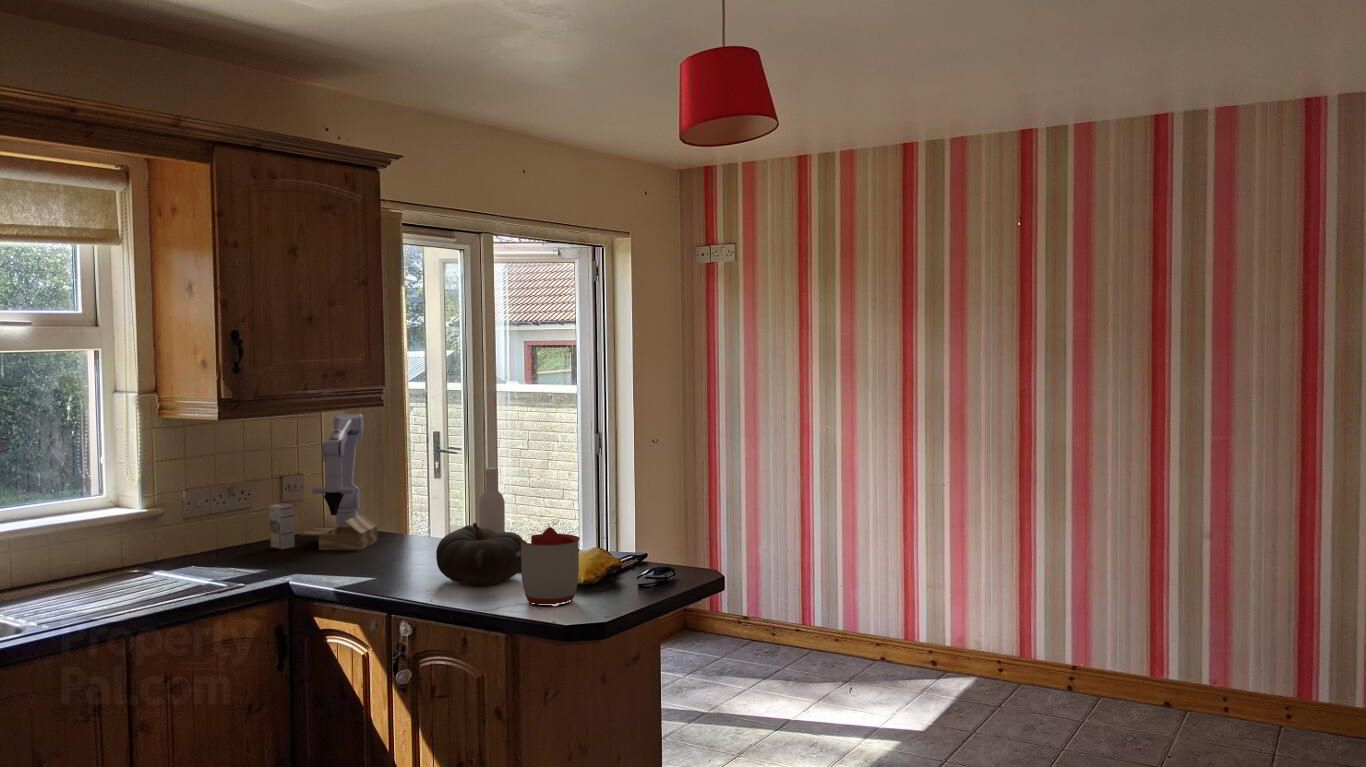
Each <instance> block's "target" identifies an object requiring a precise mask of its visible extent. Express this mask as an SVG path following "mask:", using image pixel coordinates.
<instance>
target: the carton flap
mask: <svg viewBox="0 0 1366 767" xmlns="http://www.w3.org/2000/svg"><path fill="white" fill-rule="evenodd" d="M344 523H345V524H346V525H348V526H349V527H350V528H352V529H353V530H355V531H356V532H357V533H359V534H360V535H361V534H363V533H365V532H367V531H369V530H372V529H374V528H376V527H377V528H378V525H376V524H375V523H373V522H372V521H371V520H369V518H367V517H366V516H364V515H363V514H359V515H358V516H356V517H354V518H351V519H349V520H346V521H344Z"/></svg>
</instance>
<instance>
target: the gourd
mask: <svg viewBox="0 0 1366 767" xmlns="http://www.w3.org/2000/svg"><path fill="white" fill-rule="evenodd" d="M520 539H522V540H524V539H523V537H522V536H520V535H519V534H518V533H515V532H512V531H505V532H502V533H497V532H494V531H492V530H489V529H487V528H483V529H482V528H480V527H479V525H478V524H477V523H476V522H473V523H472V524H468V525H467V524H466V525H464V526H463V527H461V528H458V529H456V530H454V531H452V532H449V533H448V534H446V535H445V536H444V537H443V538H441V540H440V541H439V543H438V545H437V547H436V552H435V553H436V554H435V555H436V556H435V557H436V565H437V567H438V570H439V571H440V573H442V574H443V575H444V576H445V577H446V578H448V579H449V580H451V581H453V582H456V583H465V584H467V585H471V586H482V585H483V586H490V585H489V584H491V585H496V584H498V583H502V582H504V581H506V580H509V579H511V578H513V577H515V575H517V574H518V573H519V572H521V558H520V556H516V554H517V552H518V551H520ZM495 583H496V584H495Z"/></svg>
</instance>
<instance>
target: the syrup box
mask: <svg viewBox="0 0 1366 767" xmlns="http://www.w3.org/2000/svg"><path fill="white" fill-rule="evenodd" d="M294 513H295V512H294V504H288V503H276V504H275V503H274V504H272V505H271V504H270V505H269V533H270V534H269V536H270V537H269V538H270V539H269V540H270V548H272V549H279V550H286V549H290V548H295V519H294V518H295V514H294Z"/></svg>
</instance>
